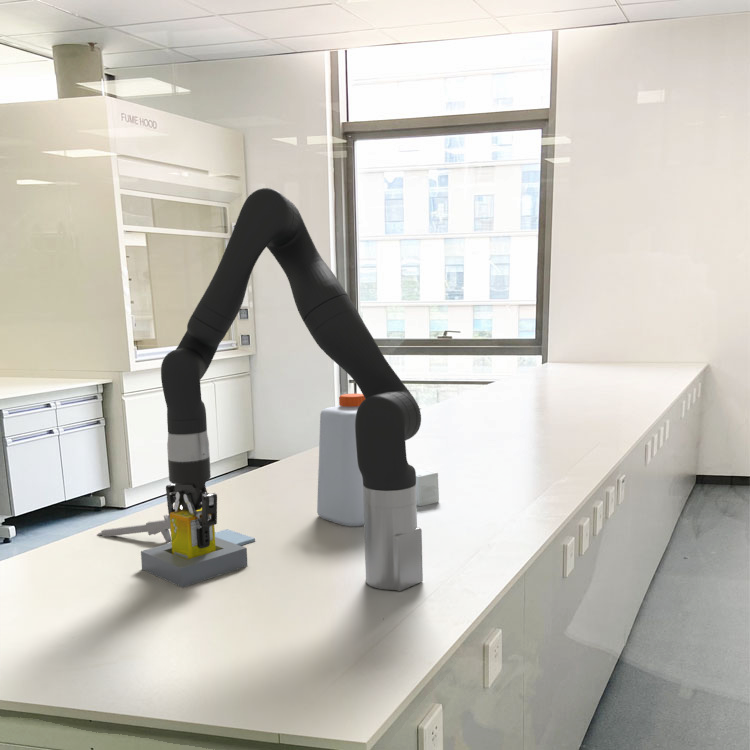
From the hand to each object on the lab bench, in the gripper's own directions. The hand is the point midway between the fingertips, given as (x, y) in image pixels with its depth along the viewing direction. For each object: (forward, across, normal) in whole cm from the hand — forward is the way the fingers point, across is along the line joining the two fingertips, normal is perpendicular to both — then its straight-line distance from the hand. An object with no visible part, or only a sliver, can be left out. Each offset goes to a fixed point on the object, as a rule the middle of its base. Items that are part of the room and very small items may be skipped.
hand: (193, 543), depth 142 cm
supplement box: (+5, 0, 0) cm, 5 cm away
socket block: (+5, 0, 0) cm, 5 cm away
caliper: (+5, +25, -2) cm, 26 cm away
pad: (+5, +9, -12) cm, 16 cm away
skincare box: (+5, -3, -62) cm, 62 cm away
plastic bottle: (+5, 0, -43) cm, 43 cm away
